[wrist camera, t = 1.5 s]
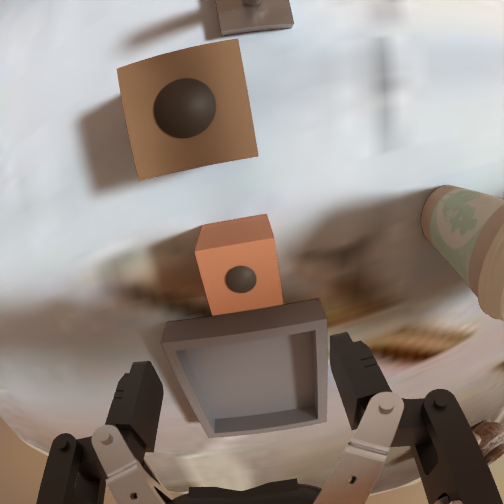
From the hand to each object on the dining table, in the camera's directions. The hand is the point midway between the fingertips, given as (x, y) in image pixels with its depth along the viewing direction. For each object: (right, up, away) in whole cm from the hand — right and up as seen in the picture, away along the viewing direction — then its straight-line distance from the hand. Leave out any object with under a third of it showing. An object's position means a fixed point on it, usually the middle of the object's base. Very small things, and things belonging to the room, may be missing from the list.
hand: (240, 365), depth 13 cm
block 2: (0, +5, +12) cm, 13 cm away
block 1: (-3, +15, +7) cm, 17 cm away
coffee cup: (+18, +8, +11) cm, 23 cm away
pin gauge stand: (0, +23, +4) cm, 23 cm away
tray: (+1, -8, +17) cm, 19 cm away
